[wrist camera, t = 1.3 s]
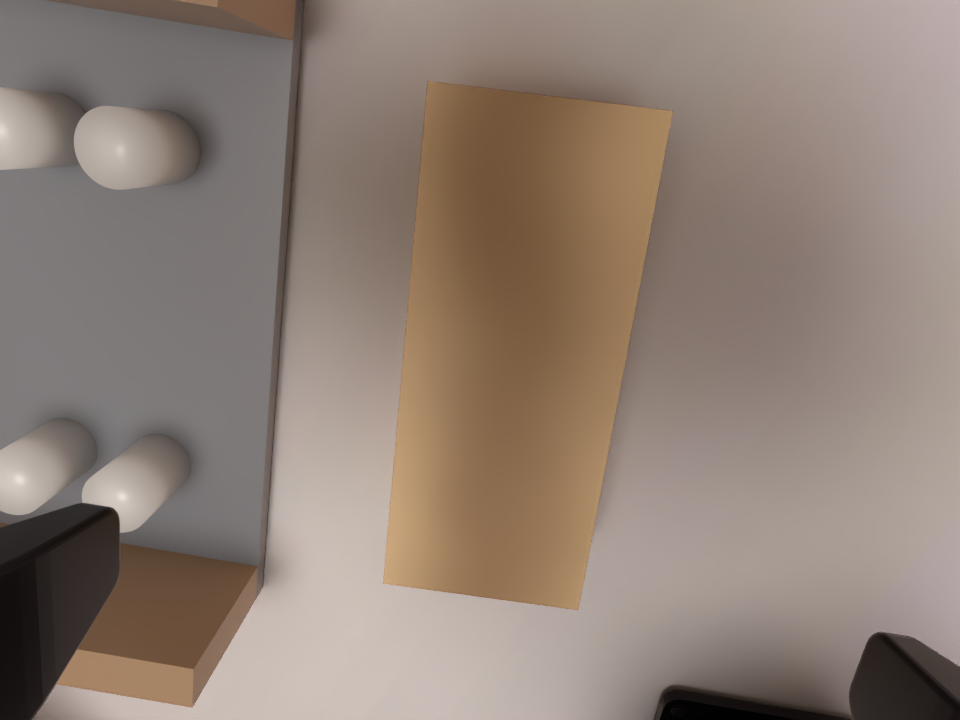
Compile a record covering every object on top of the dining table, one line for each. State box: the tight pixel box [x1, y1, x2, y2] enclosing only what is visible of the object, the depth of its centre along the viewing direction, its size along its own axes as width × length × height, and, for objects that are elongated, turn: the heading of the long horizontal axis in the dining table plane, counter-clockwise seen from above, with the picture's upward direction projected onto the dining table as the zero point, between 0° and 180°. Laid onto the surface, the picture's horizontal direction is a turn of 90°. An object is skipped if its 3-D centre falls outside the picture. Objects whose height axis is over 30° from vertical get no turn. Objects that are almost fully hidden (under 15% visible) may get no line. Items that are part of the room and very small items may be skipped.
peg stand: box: [0, 0, 304, 707], centre depth 17 cm, size 9×17×5 cm, turn 171°
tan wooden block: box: [383, 81, 673, 610], centre depth 18 cm, size 5×12×4 cm, turn 173°
